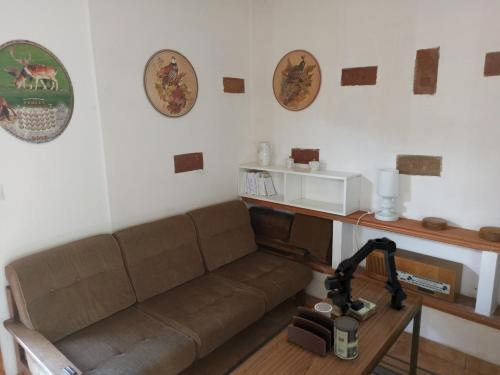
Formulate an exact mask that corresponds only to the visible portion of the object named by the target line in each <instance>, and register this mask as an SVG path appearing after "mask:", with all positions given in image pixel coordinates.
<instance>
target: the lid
mask: <svg viewBox="0 0 500 375" xmlns="http://www.w3.org/2000/svg"><path fill="white" fill-rule="evenodd" d="M358 300H359V301H361V302H363V303H364V308H362V309H361V310H359V311H355V310H353V309H351V307H350V309H349V310H351V311H353V312H355V313H357V314H359V315H361V316H363V314H364V313H366V312H367V311H369V310H370V309H372V308H373V307H375V306H376V304H375V303H373V302H370V301H368V300H366V299H363V298H361V297H359V298H358Z"/></svg>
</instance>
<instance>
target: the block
mask: <svg viewBox="0 0 500 375" xmlns="http://www.w3.org/2000/svg"><path fill="white" fill-rule="evenodd" d="M327 304H329V305H331V306H332V310H331V315H335V316H337V318H338V317H342V315H343V313H342V310H341V307H338V306H336V305H334V304H333V303H332V300H331V301H329V302H327Z"/></svg>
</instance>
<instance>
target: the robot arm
mask: <svg viewBox="0 0 500 375" xmlns="http://www.w3.org/2000/svg"><path fill="white" fill-rule="evenodd" d="M375 250H380V251H381V252H382V254H383V257H384V263H385V269H386V277H387V280H386V281H384V282H383V284H384V289H385V290H386V291H387V293H388V294H390V295H391V296H390V303H389V304H388V305H387V306H388V307H389V308H391V309H394V310H396V311H398V312H400V311H401V310H402V309H404V308H406V305H404V303H403V302H404V301H405V300H407V298H408V295H407V293H405V292H404V289H403V287H402V283H401V282H400V280H399V279H398V272H397V267H396V266H397V264H396V261H395V260H396V259H395V254H396V252H397V243H396V242H395V241H394V240H392V239H391V238H388V237H387V236H383V237H380V238H379V237H377V238H370V239H368V240H367V241H366V243H365V244H364V245H362V247H360V248H359V249H358V250H357V251H356V252H355V253H354V254H352V256H350V257H348V258H344V259H343V260H342V261H341V262H339V263H338V265H337V267H336V269H335V271H334V272H333V275H332V276H331V275H330V276H329V275H328V276H326V278H325V279H324V281H323V283H324V288H325V290H326V291H328V292H327V293H326V298H327V299H330V300H331V301H332V303H333V304H334V305H336V306H338V307H341V310H342V313H343V314H342V315H343V317H344V316H345V317H346V315H347V313H348V312H349V310H350V309H349V308H350V307H351V309H353V310H355V311H359V310H361V309H362V308H364V303H363V302H361V301H359V299H356V300H353V299H352V298H353V295H352V291H353V290H354V289H353V287H352V280H355V279H356V277H355V275H354V273H355V272H356V271H357V268H358V266H359V265H360V264H361V263H362V262H363V261H364V260H365V259H367V257H369V255H370V254H372V253H373V251H375Z"/></svg>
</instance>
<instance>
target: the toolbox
mask: <svg viewBox="0 0 500 375" xmlns="http://www.w3.org/2000/svg"><path fill="white" fill-rule="evenodd" d="M375 305H376V304H375ZM377 309H378V305H376V306H375V307H373V308H372V309H370V310H369V311H367V312H366V313H364V314H363V316H361V315H359V314H357V313H355V312H353V311H351V310H350V308H349V310H348V312H349V313H348V315H349V317H351V318H352V317H353V319H355V320H356V319H357V321H358V320H359V321H360V322H362V323H363V322H364V321H366V320H367V319H369V318H371V317H372V316H373V315H375V314H376V313H377Z"/></svg>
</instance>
